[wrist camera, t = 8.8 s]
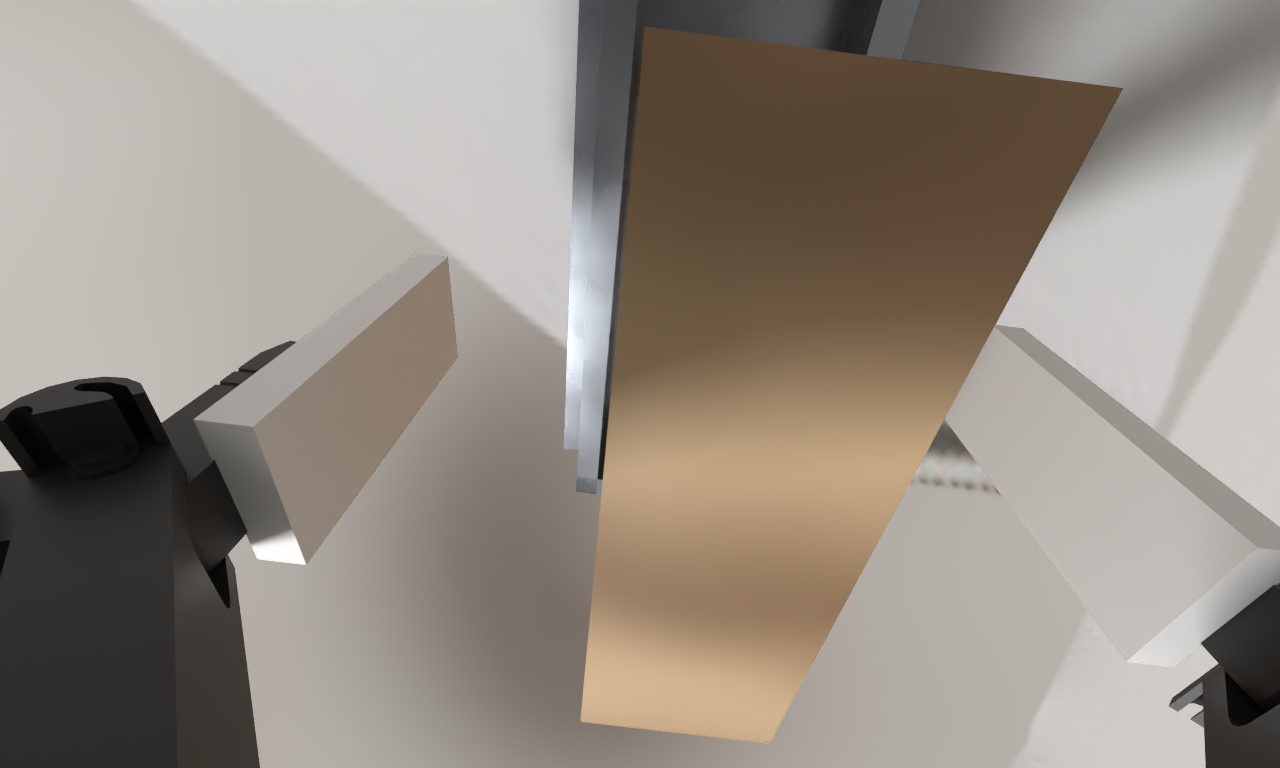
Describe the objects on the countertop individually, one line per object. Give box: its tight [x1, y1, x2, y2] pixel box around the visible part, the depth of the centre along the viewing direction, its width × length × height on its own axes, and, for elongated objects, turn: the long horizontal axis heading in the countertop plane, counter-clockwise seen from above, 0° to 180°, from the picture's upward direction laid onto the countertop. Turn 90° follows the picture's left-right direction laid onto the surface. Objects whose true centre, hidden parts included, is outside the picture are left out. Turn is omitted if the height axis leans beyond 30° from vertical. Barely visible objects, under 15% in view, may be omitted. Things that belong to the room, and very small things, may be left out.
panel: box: [581, 27, 1123, 743], centre depth 12 cm, size 12×4×12 cm, turn 174°
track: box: [564, 0, 921, 495], centre depth 17 cm, size 18×9×3 cm, turn 174°
